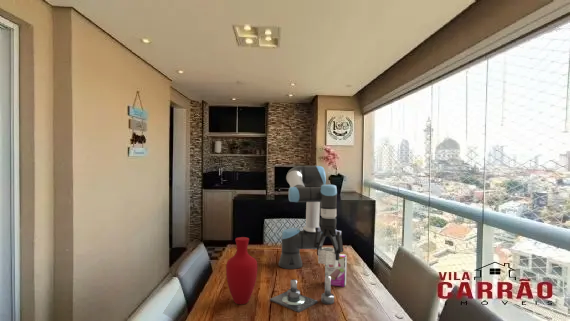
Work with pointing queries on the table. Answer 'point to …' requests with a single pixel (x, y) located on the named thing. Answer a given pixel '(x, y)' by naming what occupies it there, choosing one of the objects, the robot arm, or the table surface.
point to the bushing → (326, 255)
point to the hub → (294, 299)
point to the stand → (327, 292)
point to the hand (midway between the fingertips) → (327, 264)
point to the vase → (241, 272)
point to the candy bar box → (337, 272)
